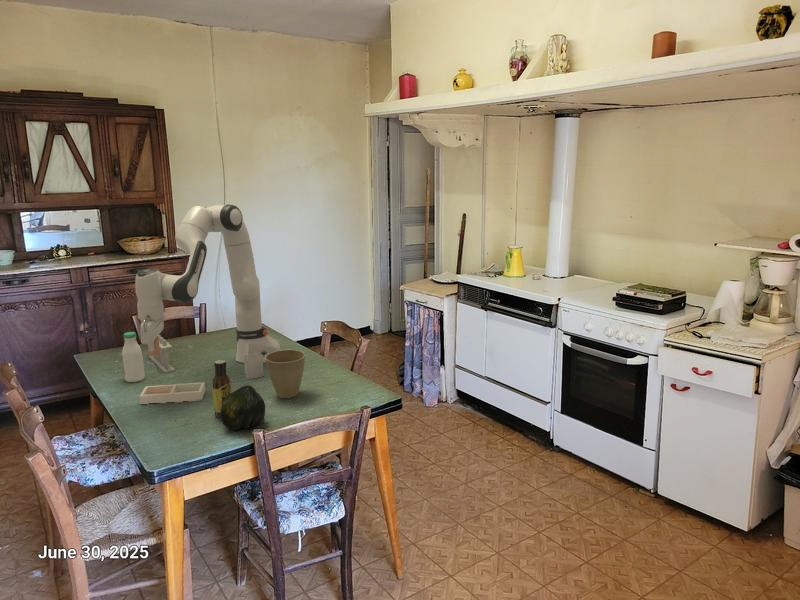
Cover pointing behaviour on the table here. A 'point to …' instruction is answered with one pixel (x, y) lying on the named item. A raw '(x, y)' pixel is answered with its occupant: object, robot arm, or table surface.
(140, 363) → the milk bottle
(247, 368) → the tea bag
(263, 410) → the squash
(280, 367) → the plant pot
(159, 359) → the test tube rack
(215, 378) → the sauce bottle
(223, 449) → the table surface
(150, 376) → the table surface
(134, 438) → the table surface
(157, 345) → the brown egg
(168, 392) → the sorting tray
